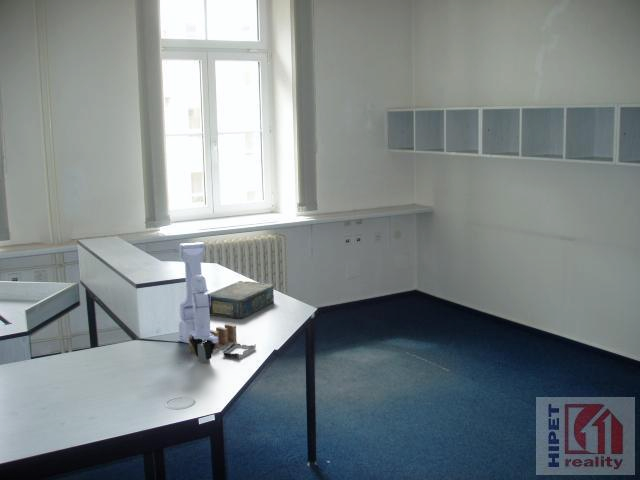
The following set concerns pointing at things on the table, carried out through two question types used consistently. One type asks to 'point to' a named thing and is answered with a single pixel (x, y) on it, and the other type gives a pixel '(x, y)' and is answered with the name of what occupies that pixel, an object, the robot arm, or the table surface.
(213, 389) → the table surface
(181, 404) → the table surface
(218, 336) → the domino
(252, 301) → the metal box
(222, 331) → the domino
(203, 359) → the domino
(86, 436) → the table surface
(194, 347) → the robot arm
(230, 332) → the domino
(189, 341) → the domino
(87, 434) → the table surface
